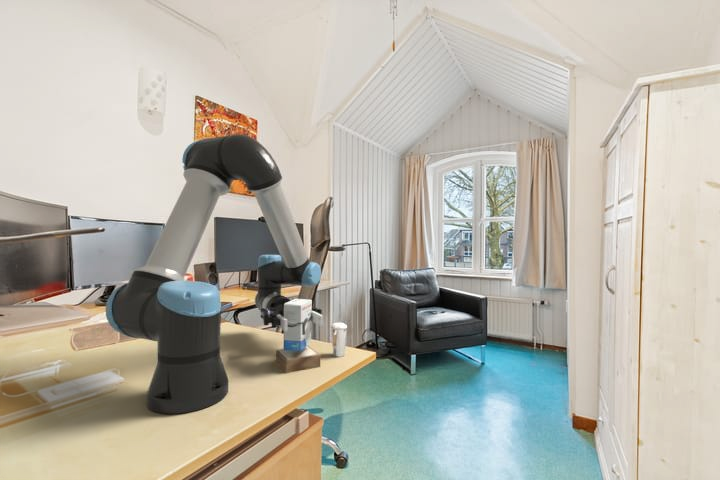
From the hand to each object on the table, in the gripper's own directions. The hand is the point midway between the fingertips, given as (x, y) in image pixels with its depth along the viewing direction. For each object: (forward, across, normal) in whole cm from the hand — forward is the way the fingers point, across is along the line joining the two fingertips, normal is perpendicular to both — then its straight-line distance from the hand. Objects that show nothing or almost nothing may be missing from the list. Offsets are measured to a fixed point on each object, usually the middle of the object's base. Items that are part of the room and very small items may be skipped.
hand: (304, 323), depth 87 cm
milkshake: (-5, +13, +12) cm, 18 cm away
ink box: (-5, 0, +7) cm, 9 cm away
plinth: (-4, 0, +12) cm, 13 cm away
